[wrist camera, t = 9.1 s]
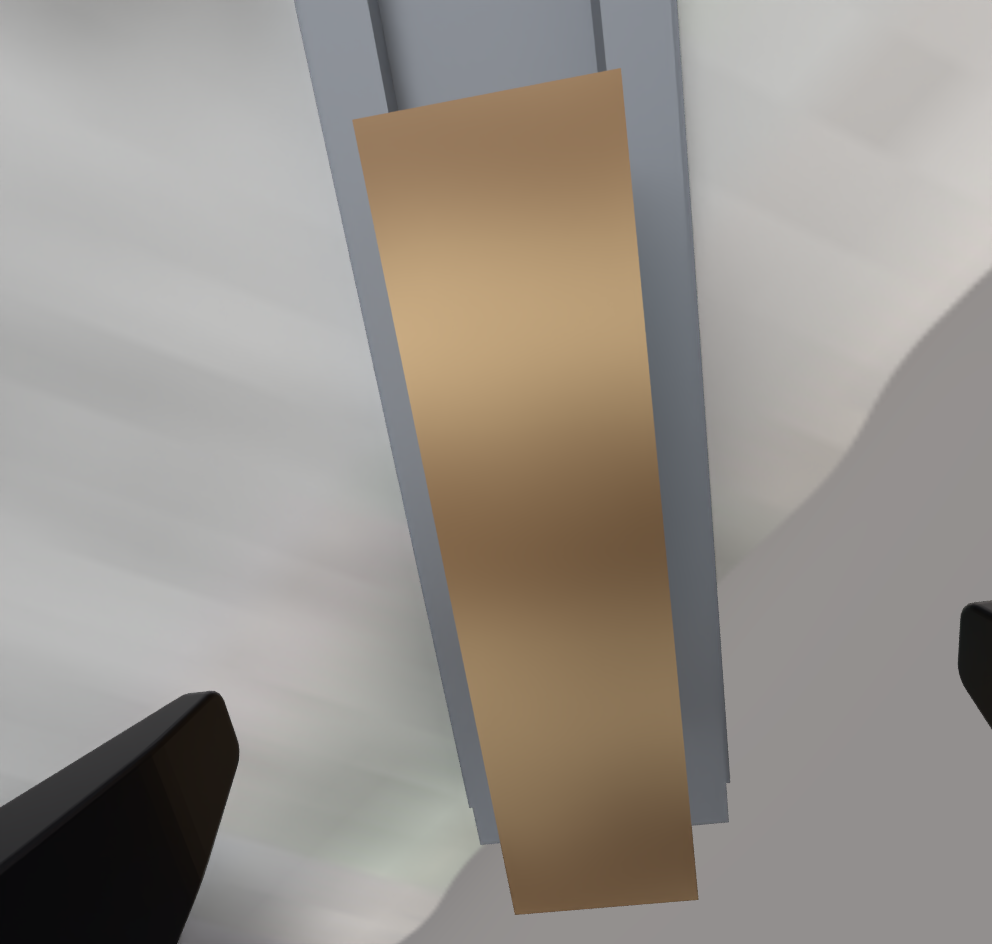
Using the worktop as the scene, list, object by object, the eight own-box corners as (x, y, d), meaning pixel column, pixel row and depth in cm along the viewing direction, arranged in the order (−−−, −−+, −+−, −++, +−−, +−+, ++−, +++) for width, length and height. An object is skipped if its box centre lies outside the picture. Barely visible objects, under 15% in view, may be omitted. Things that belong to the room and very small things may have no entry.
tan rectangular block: (633, 638, 21) (706, 898, 13) (519, 651, 22) (515, 914, 13) (578, 159, 17) (632, 65, 8) (437, 184, 17) (352, 120, 9)
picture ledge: (720, 757, 24) (744, 820, 21) (472, 782, 25) (465, 846, 22) (656, -124, 16) (682, -198, 13) (295, -46, 17) (253, -102, 14)
